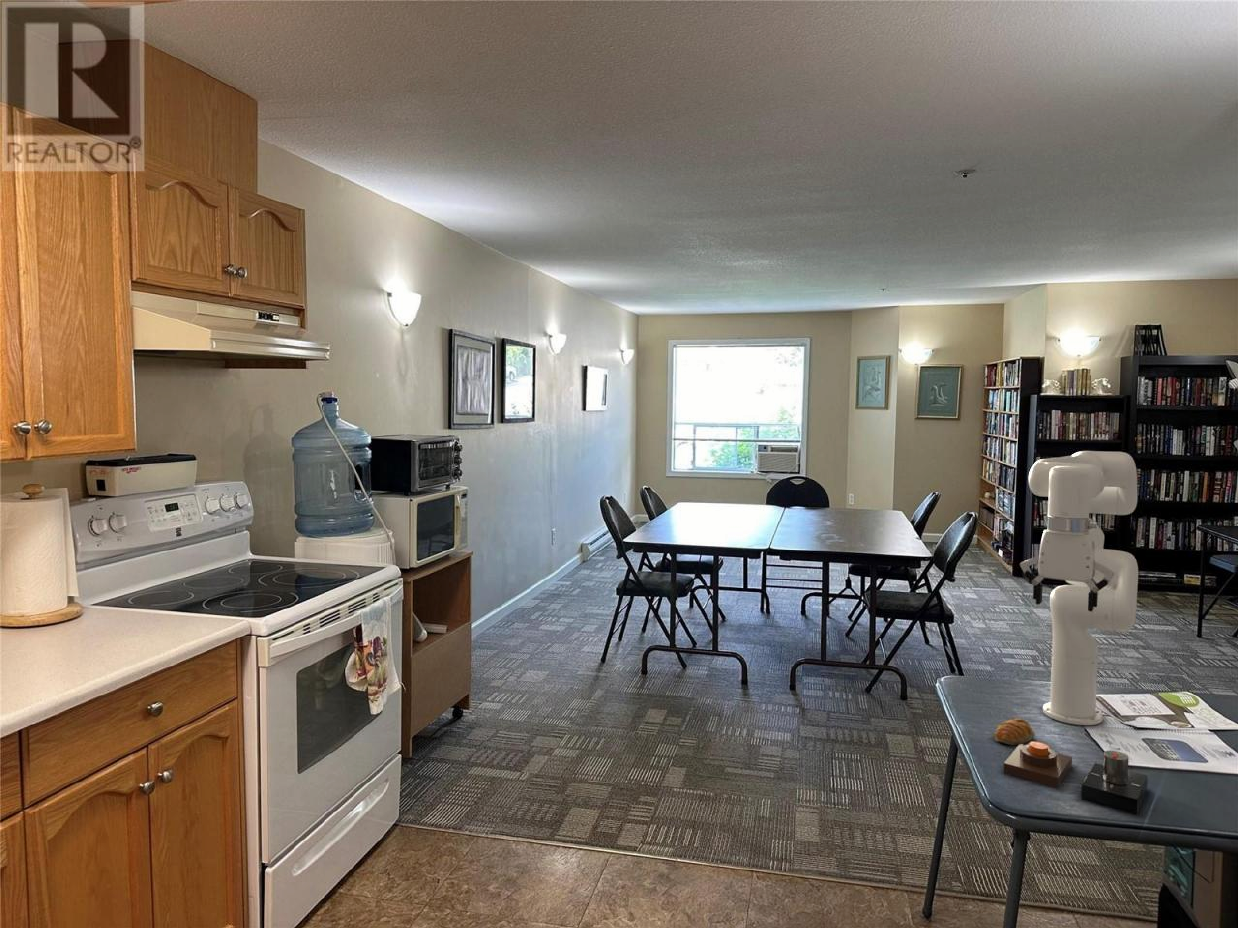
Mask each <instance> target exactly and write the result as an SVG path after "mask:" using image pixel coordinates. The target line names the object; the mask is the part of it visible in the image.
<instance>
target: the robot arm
mask: <svg viewBox="0 0 1238 928" xmlns="http://www.w3.org/2000/svg"><path fill="white" fill-rule="evenodd" d="M1137 471H1138V470H1137V466H1136V463H1135V460H1134V459H1133V457H1132V455H1130V454H1129V453H1128V452H1123V451H1102V450H1101V451H1098V450H1082V451H1077V452H1075V453H1073V454H1071V455H1066V456H1059V457H1052V458H1043V459H1039V460H1037V461H1035V462H1034V464H1033V465H1032V466H1031V468H1030V471H1029V474H1028V486H1029V489H1030V491H1031V492H1032V494H1033V495H1035V496H1036V497H1037V496H1038V497H1044V498H1047V497H1048V500H1047V526H1046V527H1047V529H1043V531H1042V532H1043V533H1042V536H1041V540H1040V545H1039V554H1038V555H1037V556H1034V557H1032V558H1029V559H1027V560H1026V559H1025V560H1024V561H1021V562H1020V563H1019V566H1020V568H1021V570H1022V572H1023V575H1024V576H1025V577H1026V579H1027V580H1028V581H1029V582H1030V583H1031V585H1033V587H1032V599H1033V600H1034V601H1035V605H1041V603H1042V602H1043V583H1042V581H1043V580H1044V579H1052V580H1060V581H1065V582H1066V583H1067V584H1063V585H1058V586H1056V587H1055V588H1054V589H1052V591H1051V592H1050V596H1049V609H1050V616H1051V624H1052V625H1051V626H1052V627H1051V628H1052V641H1051V642H1052V645H1051V671H1050V695H1049V697H1050V698H1049V701H1048V702H1045V703H1043V705H1042V712H1043V713H1044V715H1046V716H1047V717H1048V718H1051V719H1053V720H1055V721H1058V722H1061V723H1065V724H1069V725H1076V726H1094V725H1099V724H1101V723H1102V722H1103V720H1104V715H1103V714H1102V712H1101V711H1100V710H1098V709H1096V705H1097V686H1098V685H1097V681H1098V658H1099V647H1098V644H1097V640H1096V639H1095V638H1094V636H1093V634H1091V633H1090V631H1089V630H1088V629H1095V630H1102V631H1109V632H1110V631H1111V632H1120V633H1121V632H1123V633H1124V632H1128V631H1130V630H1132V628H1133V627H1134V625H1135V621H1136V617H1137V604H1138V603H1137V602H1138V601H1137V600H1138V585H1139V566H1138V561H1137V559H1136V558H1135V555H1133V554H1132V553H1131V552H1128V551H1124V550H1116V549H1106V548H1104V547H1105V546H1104V545H1105V534H1104V531H1103V530H1102V529H1101V527H1100V526H1099V524H1098V522H1097V521H1094V520H1093V519H1092V518H1091V517H1090V514H1099V515H1100V514H1101V515H1114V516H1115V515H1116V516H1127V515H1130V514H1132V513H1133V512H1134V511H1135V510H1136V508H1137V505H1138V472H1137ZM1036 564H1037V572H1038V573H1037V574H1038V575H1035V573H1033V571H1032V570H1031V568H1030V566H1033V565H1036Z"/></svg>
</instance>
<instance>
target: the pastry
mask: <svg viewBox="0 0 1238 928" xmlns="http://www.w3.org/2000/svg"><path fill="white" fill-rule="evenodd" d="M1035 735H1036V734H1035V731H1034V730H1033V728H1032V726H1031V725H1030V723H1029V722H1028V721H1026V720H1025V719H1022V718H1011V719H1009V720H1007V721H1003V722H1001V723H1000V724H999V725H998V726H997V727H996V729H995V733H994V739H995V742H1000V743H1003V744H1005V745H1009V746H1016V745H1020V744H1023V745H1024V744H1025V743H1028V742H1032V740H1033V739H1034V737H1035Z"/></svg>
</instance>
